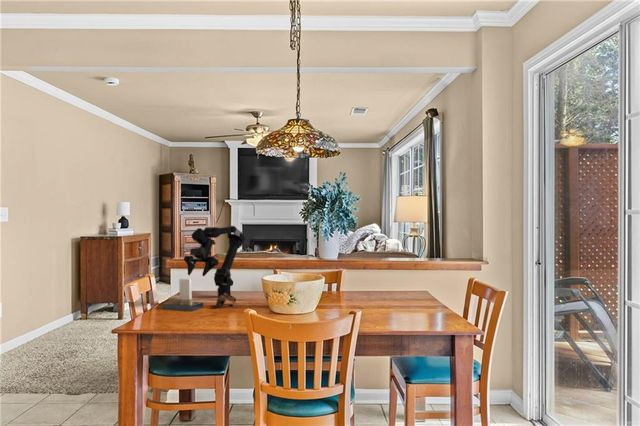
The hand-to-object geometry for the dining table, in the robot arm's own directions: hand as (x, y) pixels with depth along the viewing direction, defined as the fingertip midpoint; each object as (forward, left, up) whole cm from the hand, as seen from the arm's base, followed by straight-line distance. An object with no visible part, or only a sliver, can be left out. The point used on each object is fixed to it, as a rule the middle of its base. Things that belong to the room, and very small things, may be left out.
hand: (195, 275), depth 241 cm
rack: (+8, +9, -15) cm, 19 cm away
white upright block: (+6, +7, -14) cm, 17 cm away
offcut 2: (+7, +12, -14) cm, 20 cm away
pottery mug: (-12, +14, -16) cm, 24 cm away
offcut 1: (+11, +8, -14) cm, 20 cm away
